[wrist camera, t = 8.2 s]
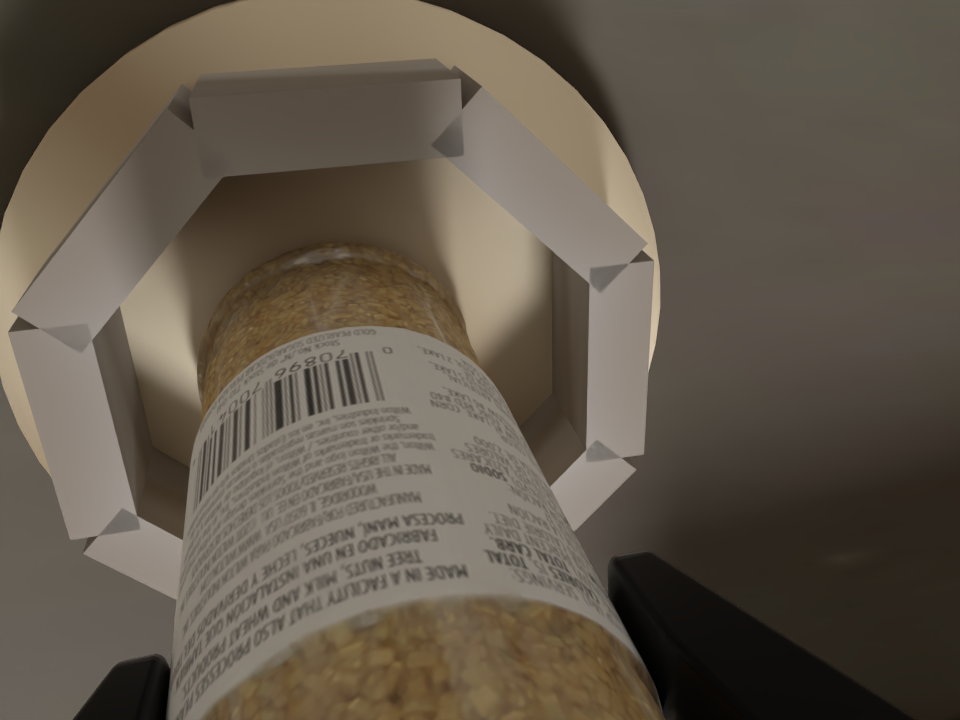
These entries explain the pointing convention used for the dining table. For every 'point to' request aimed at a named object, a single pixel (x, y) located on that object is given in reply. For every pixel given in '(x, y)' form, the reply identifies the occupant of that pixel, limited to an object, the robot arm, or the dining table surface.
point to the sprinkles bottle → (377, 520)
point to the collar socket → (310, 220)
